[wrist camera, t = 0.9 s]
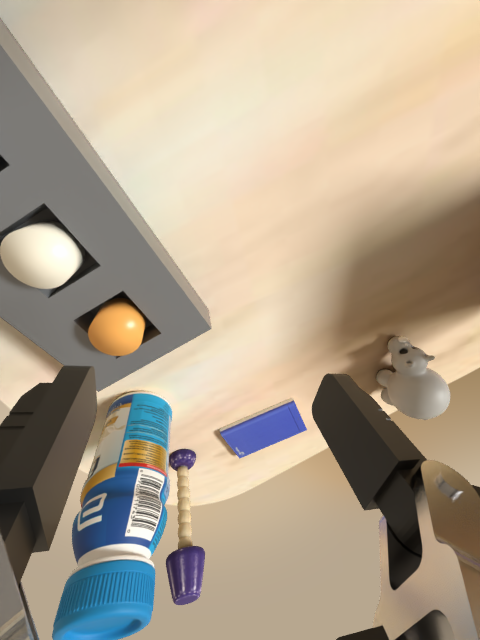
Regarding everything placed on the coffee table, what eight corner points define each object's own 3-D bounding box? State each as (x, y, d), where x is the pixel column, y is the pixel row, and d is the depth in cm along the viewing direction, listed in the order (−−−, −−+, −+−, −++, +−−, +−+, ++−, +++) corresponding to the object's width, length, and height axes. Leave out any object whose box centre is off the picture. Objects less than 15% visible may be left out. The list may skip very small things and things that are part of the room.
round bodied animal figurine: (404, 321, 40) (455, 333, 31) (418, 391, 42) (468, 419, 34) (360, 336, 40) (399, 352, 31) (376, 405, 42) (417, 438, 33)
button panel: (-177, 125, 17) (-264, 115, 14) (-16, -5, 16) (-70, -50, 12) (107, 366, 31) (98, 391, 28) (208, 309, 30) (211, 328, 26)
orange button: (87, 312, 25) (76, 331, 22) (125, 289, 24) (118, 305, 22) (120, 343, 27) (113, 363, 24) (155, 323, 27) (152, 341, 24)
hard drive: (240, 459, 44) (307, 431, 44) (220, 434, 40) (294, 402, 39) (238, 451, 46) (303, 423, 45) (218, 426, 41) (291, 394, 40)
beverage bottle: (177, 425, 38) (172, 629, 22) (117, 435, 37) (62, 659, 20) (167, 383, 34) (150, 599, 17) (99, 393, 33) (9, 635, 16)
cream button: (10, 239, 21) (-16, 250, 18) (54, 209, 20) (34, 216, 17) (56, 282, 23) (39, 298, 20) (97, 257, 22) (85, 270, 20)
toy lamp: (193, 444, 41) (197, 589, 27) (203, 459, 44) (212, 598, 30) (164, 454, 41) (154, 604, 27) (176, 468, 44) (173, 612, 30)
